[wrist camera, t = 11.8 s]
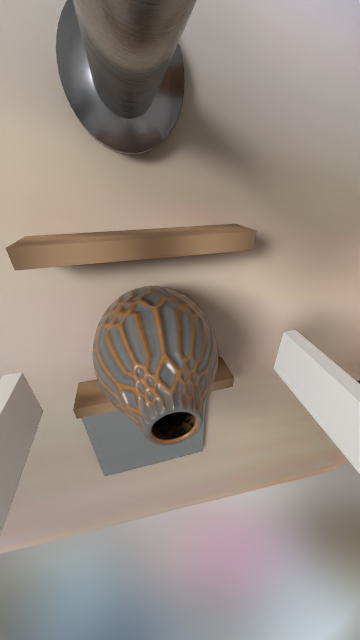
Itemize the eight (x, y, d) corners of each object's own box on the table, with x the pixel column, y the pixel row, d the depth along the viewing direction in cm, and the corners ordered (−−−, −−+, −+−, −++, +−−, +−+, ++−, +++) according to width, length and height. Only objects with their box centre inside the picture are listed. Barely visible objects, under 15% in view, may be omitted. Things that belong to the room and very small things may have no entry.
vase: (209, 325, 18) (273, 423, 10) (137, 369, 18) (150, 492, 11) (164, 250, 14) (215, 324, 7) (74, 309, 15) (32, 436, 7)
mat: (105, 470, 25) (104, 476, 24) (79, 405, 19) (78, 411, 18) (200, 446, 27) (202, 451, 26) (204, 380, 21) (206, 385, 20)
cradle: (81, 391, 18) (76, 418, 16) (25, 236, 12) (5, 248, 10) (221, 365, 20) (232, 386, 18) (235, 223, 14) (256, 231, 12)
